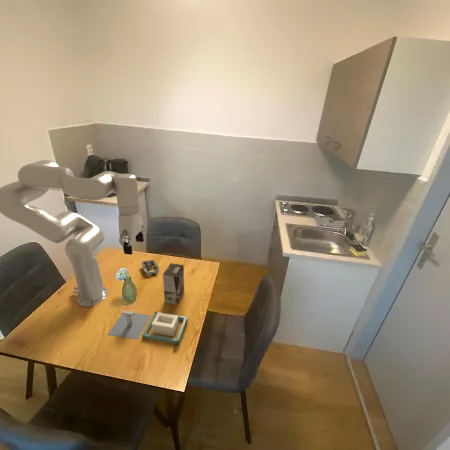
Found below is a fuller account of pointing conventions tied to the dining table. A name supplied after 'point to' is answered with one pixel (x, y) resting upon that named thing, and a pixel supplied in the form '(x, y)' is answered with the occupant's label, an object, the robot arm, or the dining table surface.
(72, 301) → the dining table surface
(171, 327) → the white hollow rectangular block
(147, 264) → the grey chain bracelet
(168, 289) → the coffee box
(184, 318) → the tray
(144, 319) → the grey plate with peg
